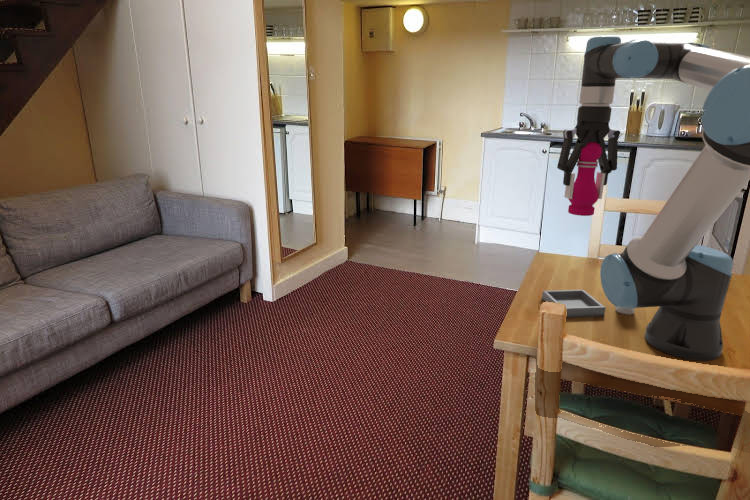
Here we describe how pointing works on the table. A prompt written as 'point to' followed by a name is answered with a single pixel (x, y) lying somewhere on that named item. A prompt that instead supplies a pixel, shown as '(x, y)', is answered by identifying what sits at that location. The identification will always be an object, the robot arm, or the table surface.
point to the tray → (575, 302)
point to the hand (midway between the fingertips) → (582, 197)
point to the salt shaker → (624, 310)
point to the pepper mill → (585, 181)
